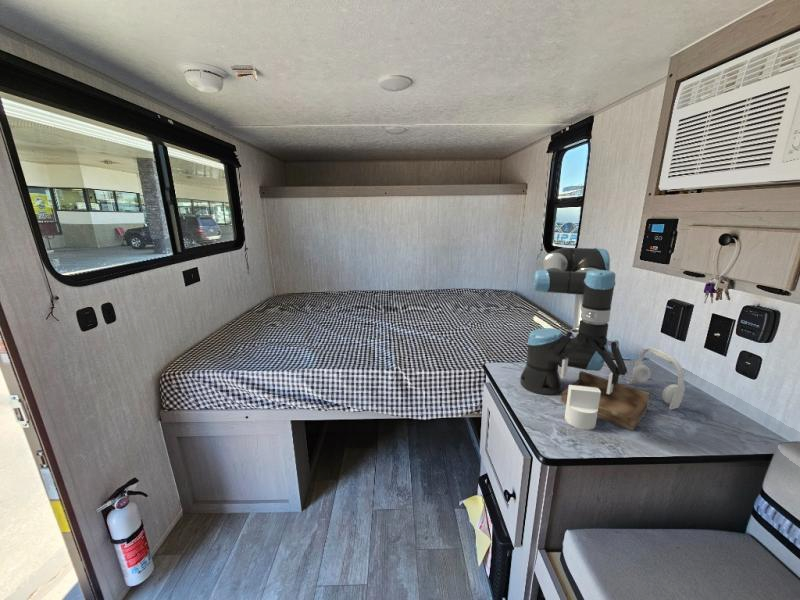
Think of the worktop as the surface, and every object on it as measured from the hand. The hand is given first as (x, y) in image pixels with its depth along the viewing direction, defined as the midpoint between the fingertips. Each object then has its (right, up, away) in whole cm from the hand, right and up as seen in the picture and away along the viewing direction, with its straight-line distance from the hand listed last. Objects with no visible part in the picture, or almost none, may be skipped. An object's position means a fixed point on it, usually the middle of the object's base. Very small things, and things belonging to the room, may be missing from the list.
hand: (585, 384), depth 101 cm
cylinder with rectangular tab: (0, -13, +4) cm, 14 cm away
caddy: (+13, -11, +11) cm, 20 cm away
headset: (+36, -9, +18) cm, 42 cm away
